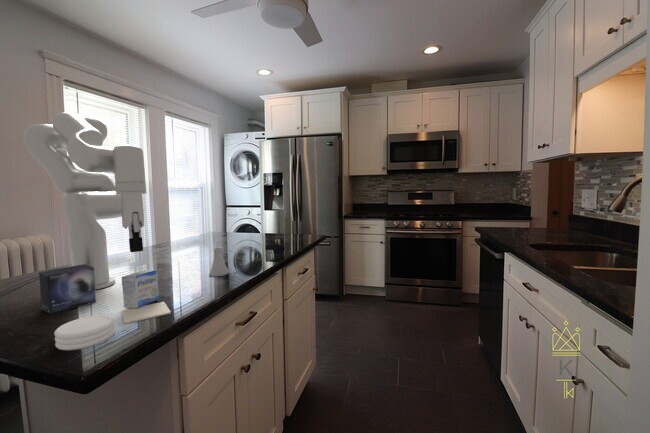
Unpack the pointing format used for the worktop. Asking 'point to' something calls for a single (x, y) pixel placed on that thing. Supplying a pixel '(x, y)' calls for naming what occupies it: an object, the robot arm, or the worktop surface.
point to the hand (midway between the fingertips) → (136, 251)
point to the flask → (218, 264)
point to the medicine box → (140, 288)
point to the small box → (67, 288)
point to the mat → (145, 312)
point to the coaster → (84, 332)
